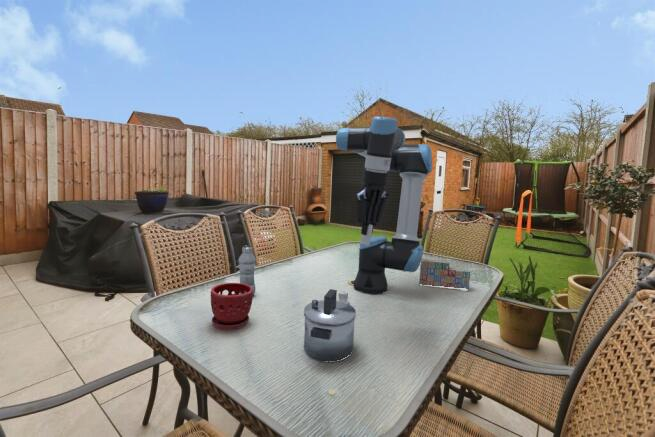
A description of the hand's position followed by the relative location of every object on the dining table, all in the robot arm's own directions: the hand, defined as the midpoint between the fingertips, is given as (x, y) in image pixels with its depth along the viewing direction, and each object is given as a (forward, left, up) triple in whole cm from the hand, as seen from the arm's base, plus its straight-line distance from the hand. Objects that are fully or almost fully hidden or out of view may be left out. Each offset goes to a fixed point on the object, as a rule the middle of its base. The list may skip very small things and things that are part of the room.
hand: (365, 243), depth 103 cm
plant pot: (+37, -20, -28) cm, 51 cm away
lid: (+16, +7, -18) cm, 25 cm away
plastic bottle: (+26, -42, -28) cm, 57 cm away
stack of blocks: (-59, -17, -28) cm, 68 cm away
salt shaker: (+2, -8, -28) cm, 29 cm away
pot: (+16, +7, -28) cm, 33 cm away
